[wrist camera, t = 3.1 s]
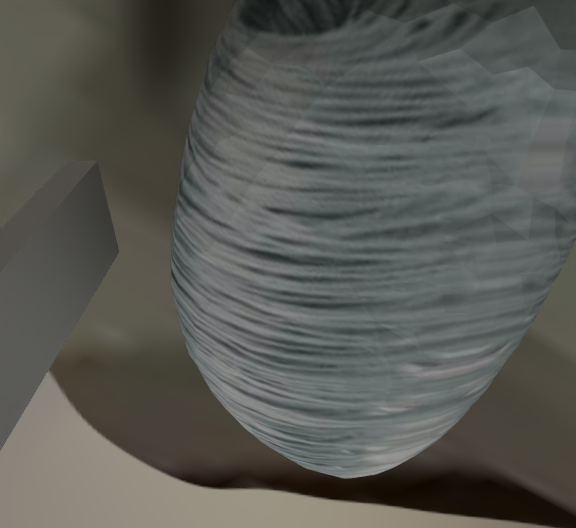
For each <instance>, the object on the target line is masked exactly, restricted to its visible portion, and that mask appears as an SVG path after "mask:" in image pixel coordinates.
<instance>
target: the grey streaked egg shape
mask: <svg viewBox="0 0 576 528" xmlns="http://www.w3.org/2000/svg"><path fill="white" fill-rule="evenodd" d="M575 240H576V0H237V1H236V3H235V5H234V7H233V9H232V11H231V12H230V14H229V16H228V18H227V20H226V22H225V24H224V26H223V28H222V30H221V32H220V34H219V36H218V38H217V40H216V42H215V44H214V47H213V49H212V52H211V55H210V57H209V60H208V63H207V66H206V70H205V74H204V77H203V81H202V85H201V89H200V93H199V96H198V99H197V102H196V106H195V109H194V112H193V115H192V119H191V122H190V125H189V129H188V132H187V138H186V143H185V149H184V154H183V160H182V166H181V172H180V178H179V184H178V191H177V198H176V205H175V212H174V219H173V226H172V233H171V253H170V257H171V285H172V291H173V296H174V302H175V306H176V309H177V313H178V317H179V320H180V324H181V328H182V332H183V335H184V339H185V342H186V345H187V349H188V352H189V354H190V356H191V358H192V359H193V361H194V362H195V364H196V366H197V367H198V369H199V371H200V372H201V374H202V376H203V377H204V379H205V381H206V383H207V384H208V386H209V388H210V389H211V391H212V392H213V394H214V395H215V396H216V397H217V399H218V400H219V401H220V402H221V403H222V405H223V406H224V407H225V408H226V409H227V410H228V411H229V412H230V413H231V414H232V415H233V416H234V417H235V418H236V419H237V420H238V422H239V423H240V424H241V425H242V426H243V427H244V428H246V429H247V430H248V431H249V432H251V433H252V434H253V435H254V436H256V437H257V438H258V439H259V440H260V441H262V442H263V443H264V444H265V445H267V446H269V447H270V448H272V449H274V450H275V451H277V452H279V453H280V454H282V455H284V456H285V457H287V458H289V459H290V460H292V461H294V462H296V463H298V464H299V465H301V466H303V467H305V468H307V469H310V470H314V471H318V472H321V473H325V474H329V475H333V476H337V477H341V478H355V477H361V476H367V475H374V474H378V473H380V472H383V471H385V470H388V469H390V468H393V467H395V466H397V465H399V464H401V463H403V462H404V461H406V460H408V459H410V458H412V457H414V456H415V455H417V454H418V453H420V452H421V451H423V450H424V449H426V448H427V447H429V446H430V445H432V444H433V443H435V442H436V441H437V440H438V439H440V438H441V437H442V436H443V435H444V434H445V433H446V432H447V431H448V430H449V429H451V428H452V427H453V426H454V425H455V424H456V423H457V422H458V421H459V420H460V419H461V418H462V416H463V415H464V414H465V413H466V412H467V411H468V410H469V409H470V408H471V407H472V405H473V404H474V403H475V402H476V401H477V400H478V399H479V398H480V397H481V395H482V394H483V393H484V392H485V391H486V390H487V389H488V387H489V385H490V384H491V382H492V380H493V379H494V377H495V376H496V374H497V373H498V372H499V370H500V369H501V368H502V366H503V365H504V363H505V362H506V361H507V359H508V358H509V357H510V355H511V354H512V353H513V351H514V350H515V349H516V347H517V346H518V344H519V343H520V342H521V340H522V339H523V337H524V336H525V334H526V333H527V331H528V329H529V328H530V326H531V324H532V323H533V321H534V319H535V318H536V316H537V314H538V312H539V310H540V308H541V306H542V304H543V302H544V300H545V299H546V297H547V295H548V293H549V291H550V289H551V287H552V285H553V283H554V282H555V280H556V278H557V276H558V274H559V272H560V271H561V269H562V267H563V265H564V263H565V261H566V259H567V257H568V255H569V253H570V250H571V248H572V246H573V244H574V242H575Z"/></svg>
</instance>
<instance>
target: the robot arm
mask: <svg viewBox="0 0 576 528" xmlns="http://www.w3.org/2000/svg"><path fill="white" fill-rule="evenodd" d="M118 253H119V249H118V245H117V241H116V237H115V232H114V228H113V224H112V220H111V216H110V211H109V207H108V203H107V199H106V195H105V190H104V186H103V182H102V178H101V174H100V169H99V165H98V161H81V160H68V161H67V162H66V163H65V164H64V165H63V166H62V167H61V168H60V169H59V170H58V171H57V172H56V173H55V174H54V175H53V176H52V177H51V178H50V179H49V180H48V181H47V182H46V183H45V184H44V185H43V186H42V187H41V188H40V189H39V190H38V191H37V192H36V193H35V194H34V195H33V196H32V197H31V198H30V199H29V200H28V201H27V202H26V203H25V204H24V205H23V206H22V207H21V208H20V209H19V211H18V212H17V213H16V214H15V215H14V216H13V217H12V218H11V219H10V220H9V221H8V222H7V223H6V224H5V225H4V226H3V227H2V228H1V229H0V450H1V449H2V447H3V445H4V444H5V442H6V440H7V438H8V437H9V435H10V434H11V432H12V430H13V429H14V427H15V425H16V423H17V422H18V420H19V419H20V417H21V415H22V413H23V412H24V410H25V409H26V407H27V405H28V404H29V402H30V400H31V399H32V397H33V395H34V393H35V392H36V390H37V388H38V387H39V385H40V383H41V382H42V380H43V378H44V376H45V375H46V373H47V372H48V370H49V368H50V367H51V365H52V363H53V362H54V360H55V358H56V357H57V355H58V353H59V352H60V350H61V348H62V347H63V345H64V343H65V342H66V340H67V338H68V337H69V335H70V333H71V332H72V330H73V328H74V327H75V325H76V323H77V322H78V320H79V318H80V317H81V315H82V313H83V312H84V310H85V308H86V306H87V305H88V303H89V301H90V300H91V298H92V296H93V295H94V293H95V291H96V290H97V288H98V286H99V285H100V283H101V281H102V280H103V278H104V276H105V275H106V273H107V271H108V270H109V268H110V266H111V265H112V263H113V261H114V260H115V258H116V256H117V255H118Z"/></svg>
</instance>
